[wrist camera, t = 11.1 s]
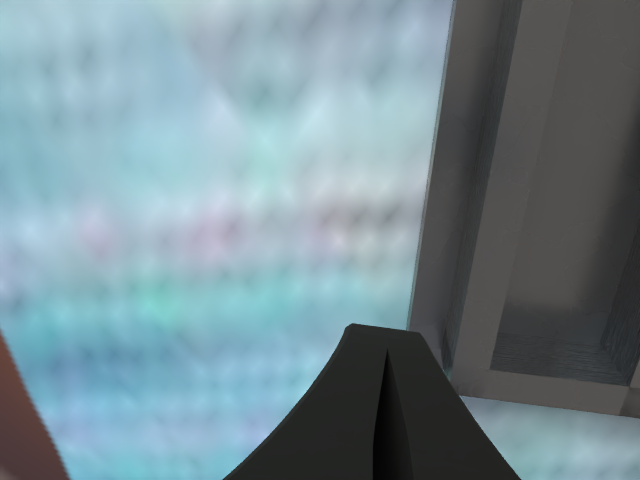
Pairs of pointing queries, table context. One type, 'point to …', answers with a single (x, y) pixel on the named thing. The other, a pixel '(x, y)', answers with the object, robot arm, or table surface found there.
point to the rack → (536, 206)
